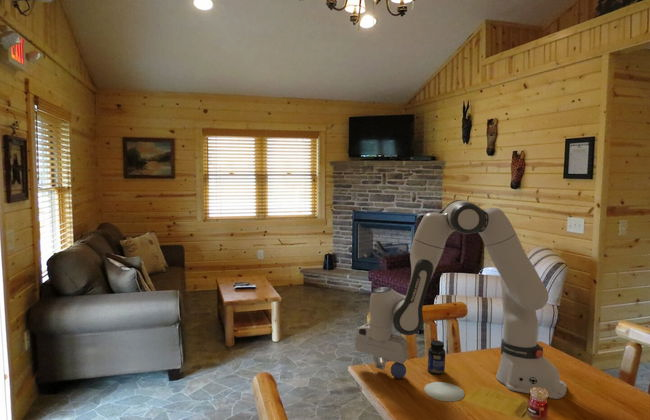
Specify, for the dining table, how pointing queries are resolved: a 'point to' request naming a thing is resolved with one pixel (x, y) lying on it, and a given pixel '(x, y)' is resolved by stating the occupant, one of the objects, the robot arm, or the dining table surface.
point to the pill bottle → (436, 358)
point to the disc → (444, 391)
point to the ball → (398, 370)
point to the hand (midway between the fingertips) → (380, 368)
